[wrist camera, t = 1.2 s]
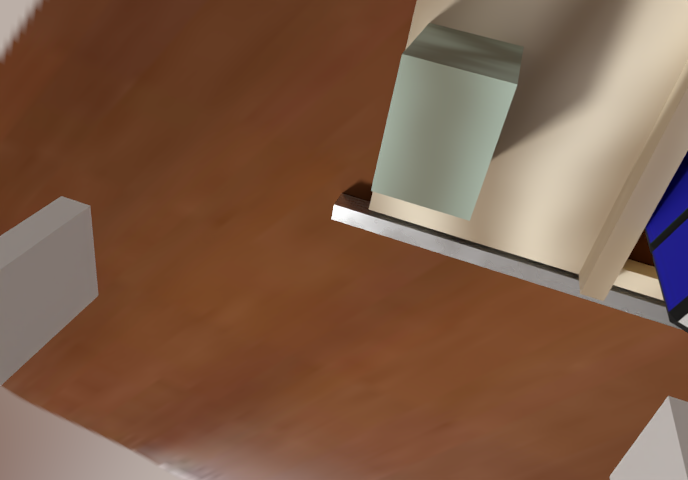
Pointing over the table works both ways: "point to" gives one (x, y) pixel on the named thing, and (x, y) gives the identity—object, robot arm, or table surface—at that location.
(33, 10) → the table surface
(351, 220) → the light grey flat piece
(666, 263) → the puzzle cube
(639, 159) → the board with grey block
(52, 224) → the robot arm
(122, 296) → the table surface
